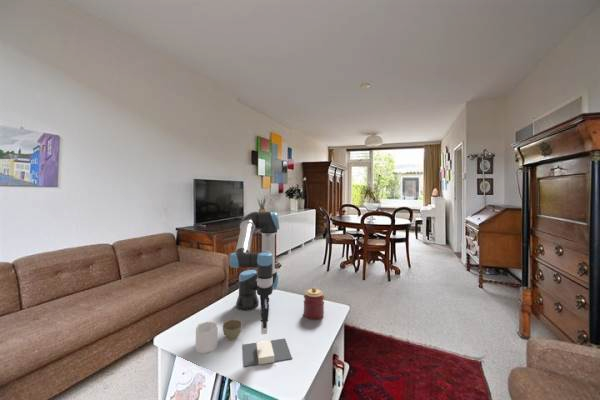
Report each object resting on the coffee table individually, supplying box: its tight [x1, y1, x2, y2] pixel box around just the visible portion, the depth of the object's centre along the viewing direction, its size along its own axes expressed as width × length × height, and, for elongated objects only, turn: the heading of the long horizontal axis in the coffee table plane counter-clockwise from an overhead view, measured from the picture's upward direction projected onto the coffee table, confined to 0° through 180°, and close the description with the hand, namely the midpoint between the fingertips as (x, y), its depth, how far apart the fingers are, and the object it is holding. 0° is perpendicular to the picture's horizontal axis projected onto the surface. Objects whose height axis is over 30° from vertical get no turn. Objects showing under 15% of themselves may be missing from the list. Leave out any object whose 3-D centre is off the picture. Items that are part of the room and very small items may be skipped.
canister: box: [303, 286, 325, 321], centre depth 155 cm, size 13×13×18 cm
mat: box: [242, 338, 293, 368], centre depth 118 cm, size 16×22×1 cm
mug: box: [195, 321, 218, 354], centre depth 122 cm, size 13×10×10 cm
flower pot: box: [222, 319, 243, 341], centre depth 130 cm, size 10×10×7 cm
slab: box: [255, 339, 275, 366], centre depth 116 cm, size 3×7×12 cm
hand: (264, 333), depth 119 cm, fingers closed
